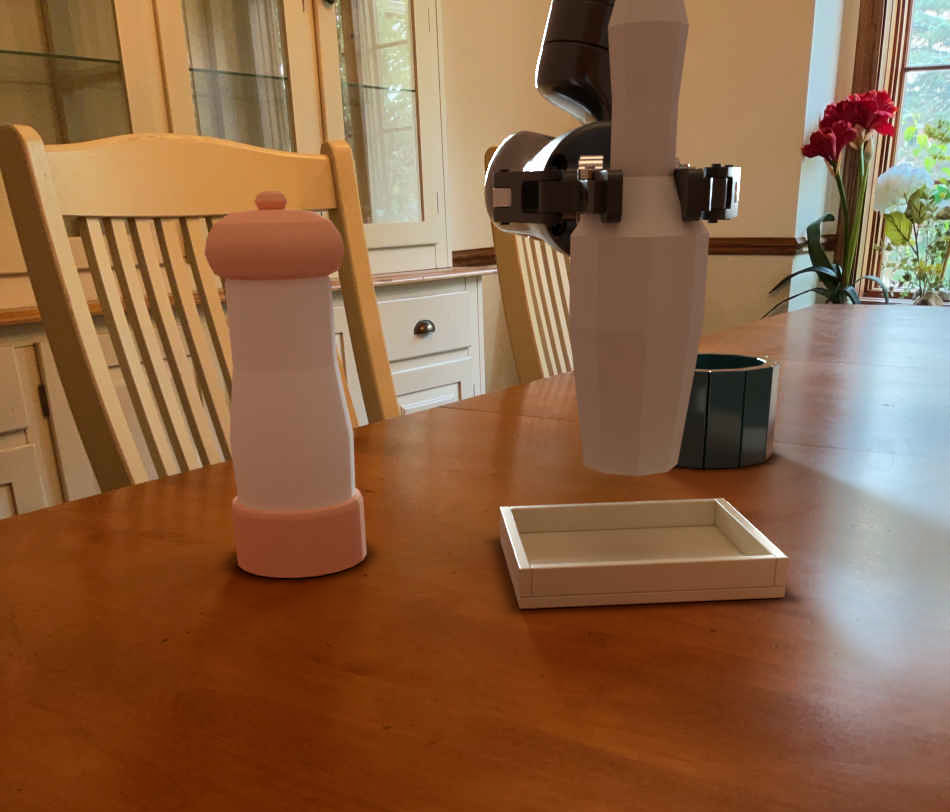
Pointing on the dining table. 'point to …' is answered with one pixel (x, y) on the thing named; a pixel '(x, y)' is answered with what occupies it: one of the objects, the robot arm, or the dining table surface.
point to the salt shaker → (287, 393)
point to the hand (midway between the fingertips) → (655, 195)
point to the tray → (637, 554)
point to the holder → (730, 411)
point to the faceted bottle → (639, 262)
